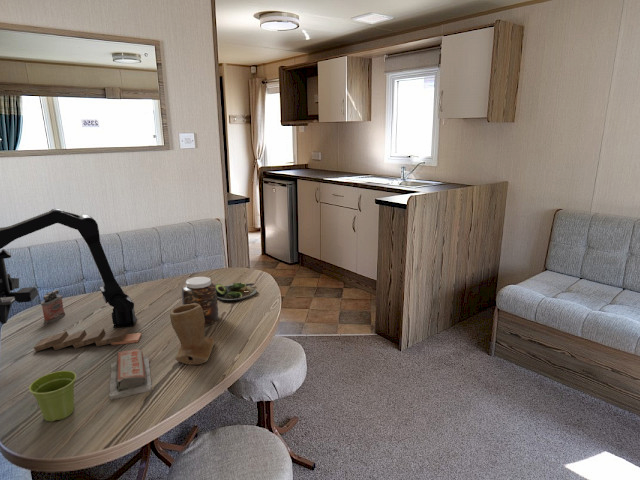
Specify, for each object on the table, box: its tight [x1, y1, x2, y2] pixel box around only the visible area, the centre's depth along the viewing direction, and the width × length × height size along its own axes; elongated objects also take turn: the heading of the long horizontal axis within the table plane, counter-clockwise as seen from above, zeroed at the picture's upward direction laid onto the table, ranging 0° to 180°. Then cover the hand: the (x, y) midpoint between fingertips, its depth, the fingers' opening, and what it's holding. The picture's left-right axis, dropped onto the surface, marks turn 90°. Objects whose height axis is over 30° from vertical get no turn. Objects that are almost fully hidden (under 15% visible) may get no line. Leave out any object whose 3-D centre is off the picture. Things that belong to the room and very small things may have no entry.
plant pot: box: [28, 370, 77, 422], centre depth 98 cm, size 9×9×9 cm
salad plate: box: [215, 282, 258, 303], centre depth 174 cm, size 19×18×5 cm
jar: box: [181, 276, 219, 327], centre depth 147 cm, size 12×12×15 cm
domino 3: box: [72, 328, 106, 349], centre depth 132 cm, size 2×5×8 cm
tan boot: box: [169, 303, 215, 366], centre depth 124 cm, size 15×12×15 cm
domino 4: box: [94, 328, 128, 347], centre depth 133 cm, size 2×5×8 cm
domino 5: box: [110, 332, 142, 346], centre depth 135 cm, size 2×5×8 cm
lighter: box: [40, 289, 66, 324], centre depth 150 cm, size 8×3×10 cm, turn 168°
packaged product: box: [109, 348, 153, 401], centre depth 114 cm, size 18×5×10 cm
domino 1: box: [33, 330, 69, 353], centre depth 130 cm, size 2×5×8 cm
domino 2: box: [52, 329, 87, 351], centre depth 131 cm, size 2×5×8 cm
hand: (4, 323), depth 126 cm, fingers closed
